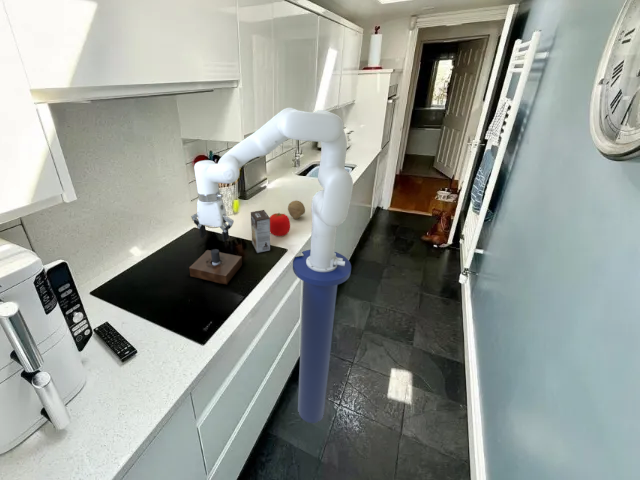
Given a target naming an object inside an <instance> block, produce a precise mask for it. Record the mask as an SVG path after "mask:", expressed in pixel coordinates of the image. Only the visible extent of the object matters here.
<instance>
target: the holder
mask: <svg viewBox="0 0 640 480" xmlns="http://www.w3.org/2000/svg"><path fill="white" fill-rule="evenodd" d="M211 251H212V250H209V249H207V250H205V252H204V253H203V254H202V255H200V257H199V258H197V259H196V260H195V261H194V262H193V264H191V265H190V266H189V267H188V269H189V276H190V277H192V278H197V279H200V280H205V281H209V282H214V283H217V284H222V285H226V286H227V285H228V284H229V283H230V281H231V280H232V278H233V277H234V276H236V274H237V273H238V271H239V270H240V269H241V267H242V266H243V256H241V255H235V254H231V253H225V252H221V251H219V255H220V264H219V265H212V257H211Z"/></svg>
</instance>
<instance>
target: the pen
mask: <svg viewBox="0 0 640 480" xmlns="http://www.w3.org/2000/svg"><path fill="white" fill-rule="evenodd" d="M210 251H211V257H212V265H219V264H220V255H219V252H220V250H219V249H217V248H213V249H211V250H210Z"/></svg>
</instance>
